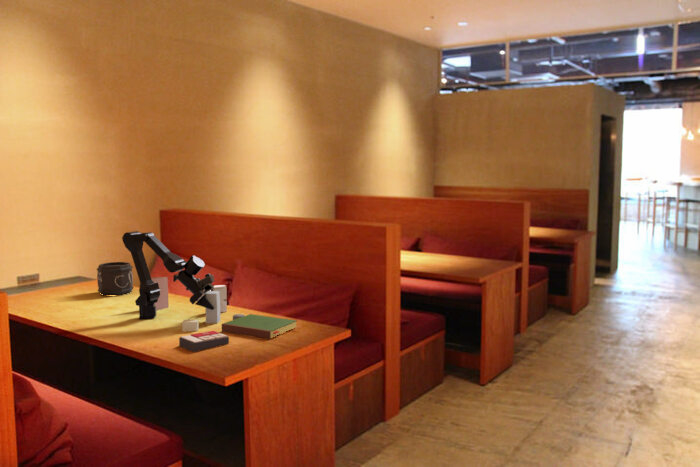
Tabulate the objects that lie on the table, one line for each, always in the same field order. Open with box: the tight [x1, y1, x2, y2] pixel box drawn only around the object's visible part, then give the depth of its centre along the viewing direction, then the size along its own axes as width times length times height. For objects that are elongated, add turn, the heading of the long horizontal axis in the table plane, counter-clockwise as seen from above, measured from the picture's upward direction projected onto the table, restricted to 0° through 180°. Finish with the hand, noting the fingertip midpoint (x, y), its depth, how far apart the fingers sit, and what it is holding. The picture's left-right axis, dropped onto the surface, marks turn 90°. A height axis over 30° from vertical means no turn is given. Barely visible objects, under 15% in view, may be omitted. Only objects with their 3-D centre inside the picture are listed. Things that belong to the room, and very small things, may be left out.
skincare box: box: [213, 284, 228, 313], centre depth 282 cm, size 6×4×12 cm
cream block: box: [181, 318, 200, 333], centre depth 251 cm, size 6×4×4 cm, turn 96°
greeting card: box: [151, 276, 170, 311], centre depth 286 cm, size 11×7×15 cm, turn 108°
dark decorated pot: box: [96, 261, 135, 296], centre depth 325 cm, size 18×18×16 cm
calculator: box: [178, 330, 230, 353], centre depth 230 cm, size 11×4×15 cm
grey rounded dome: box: [232, 313, 245, 320], centre depth 263 cm, size 5×5×3 cm
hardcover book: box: [221, 313, 297, 340], centre depth 250 cm, size 25×19×4 cm
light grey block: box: [205, 291, 221, 324], centre depth 263 cm, size 5×5×13 cm
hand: (216, 306), depth 263 cm, fingers open, 8 cm apart
